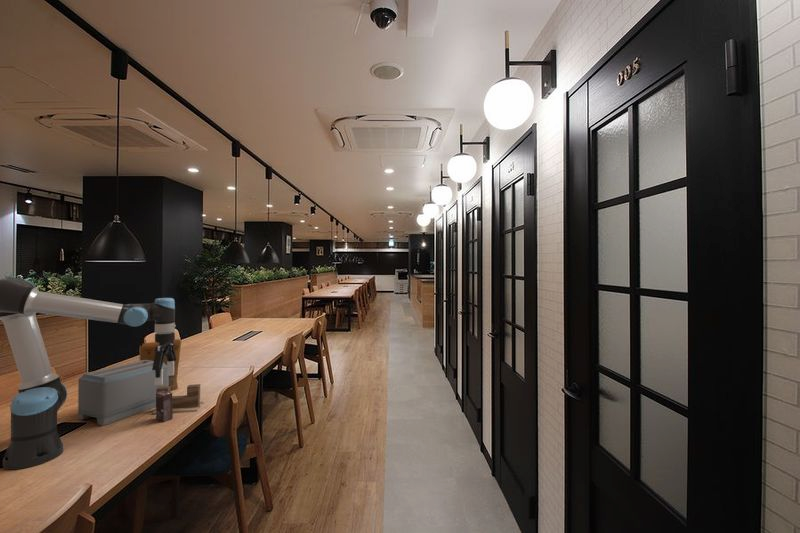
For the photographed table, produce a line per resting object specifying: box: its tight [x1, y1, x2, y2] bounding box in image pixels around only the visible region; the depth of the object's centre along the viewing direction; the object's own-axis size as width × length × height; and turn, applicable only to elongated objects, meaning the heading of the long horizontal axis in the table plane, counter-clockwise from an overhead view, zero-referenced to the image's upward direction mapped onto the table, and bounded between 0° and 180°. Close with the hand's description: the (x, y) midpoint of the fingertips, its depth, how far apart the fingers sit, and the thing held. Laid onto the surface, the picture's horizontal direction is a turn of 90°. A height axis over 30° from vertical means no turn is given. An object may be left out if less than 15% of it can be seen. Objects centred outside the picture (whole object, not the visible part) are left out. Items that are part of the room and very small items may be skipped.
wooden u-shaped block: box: [151, 383, 204, 416], centre depth 174 cm, size 10×19×11 cm, turn 104°
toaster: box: [77, 360, 169, 427], centre depth 173 cm, size 19×33×20 cm, turn 158°
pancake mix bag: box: [138, 338, 182, 392], centre depth 197 cm, size 7×19×28 cm, turn 122°
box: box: [155, 391, 174, 423], centre depth 162 cm, size 6×4×12 cm
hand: (164, 379), depth 162 cm, fingers open, 13 cm apart
